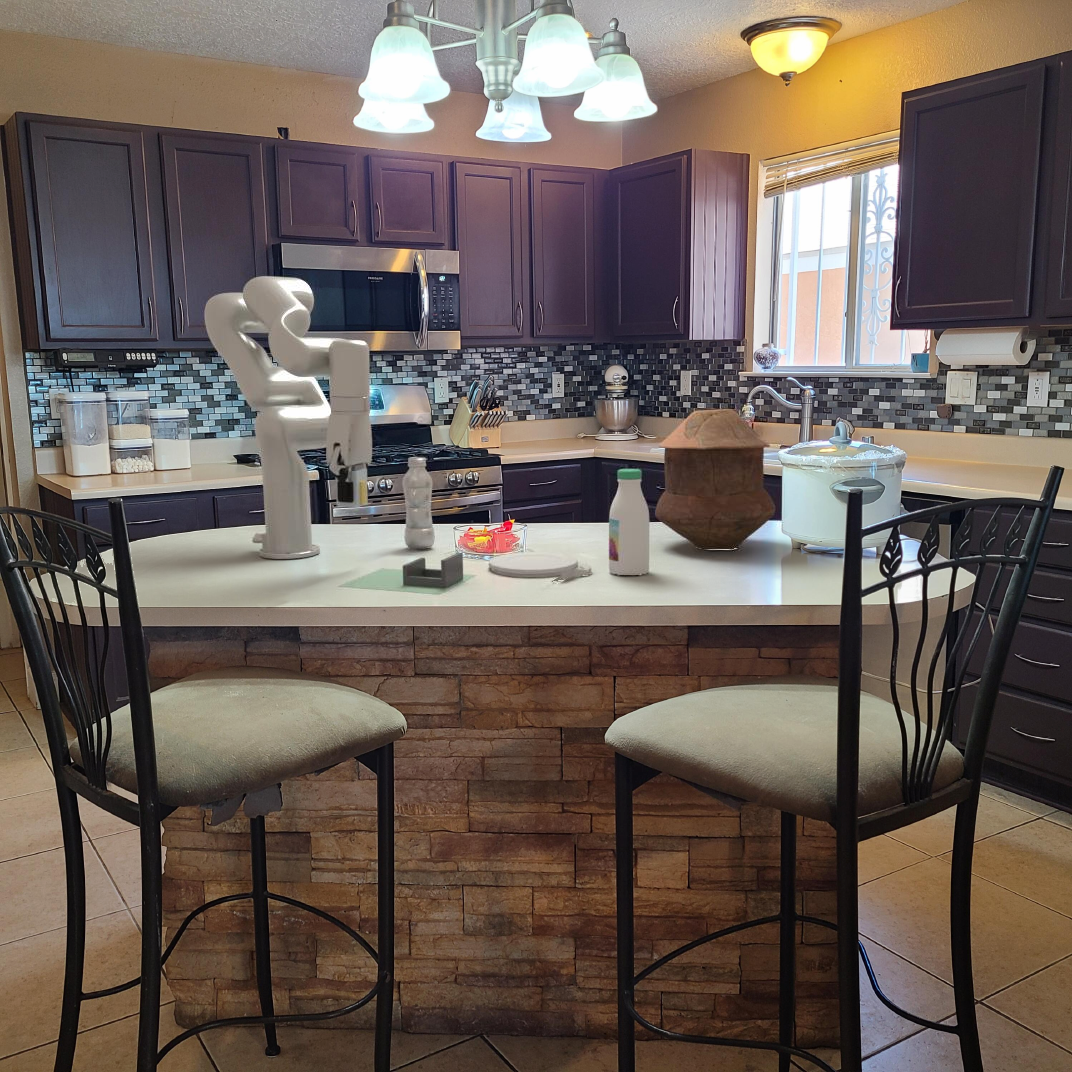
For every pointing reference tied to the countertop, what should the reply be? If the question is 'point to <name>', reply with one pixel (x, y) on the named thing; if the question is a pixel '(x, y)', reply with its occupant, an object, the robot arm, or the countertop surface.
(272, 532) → the robot arm
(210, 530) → the countertop surface
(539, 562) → the lid
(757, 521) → the pottery vessel
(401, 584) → the board
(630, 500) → the milk bottle
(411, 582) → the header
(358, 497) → the plug
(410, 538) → the plastic bottle
